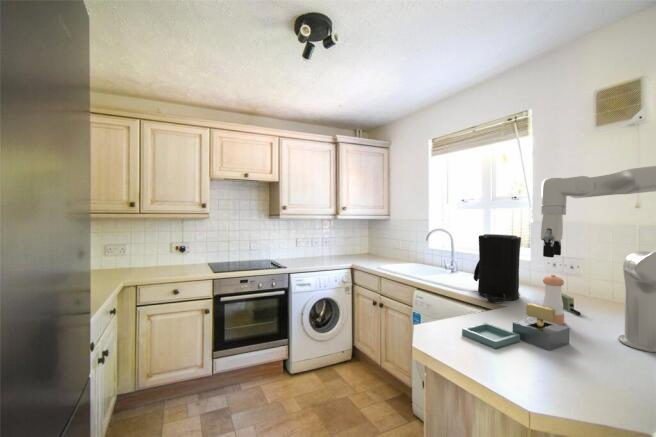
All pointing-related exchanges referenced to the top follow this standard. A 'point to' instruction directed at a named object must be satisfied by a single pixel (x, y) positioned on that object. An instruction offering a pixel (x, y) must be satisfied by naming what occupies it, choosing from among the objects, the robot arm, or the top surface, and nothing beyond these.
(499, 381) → the top surface
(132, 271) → the top surface
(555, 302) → the pepper shaker
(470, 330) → the tray
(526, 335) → the block
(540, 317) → the t key
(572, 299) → the handheld radio
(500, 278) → the black backpack
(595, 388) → the top surface
